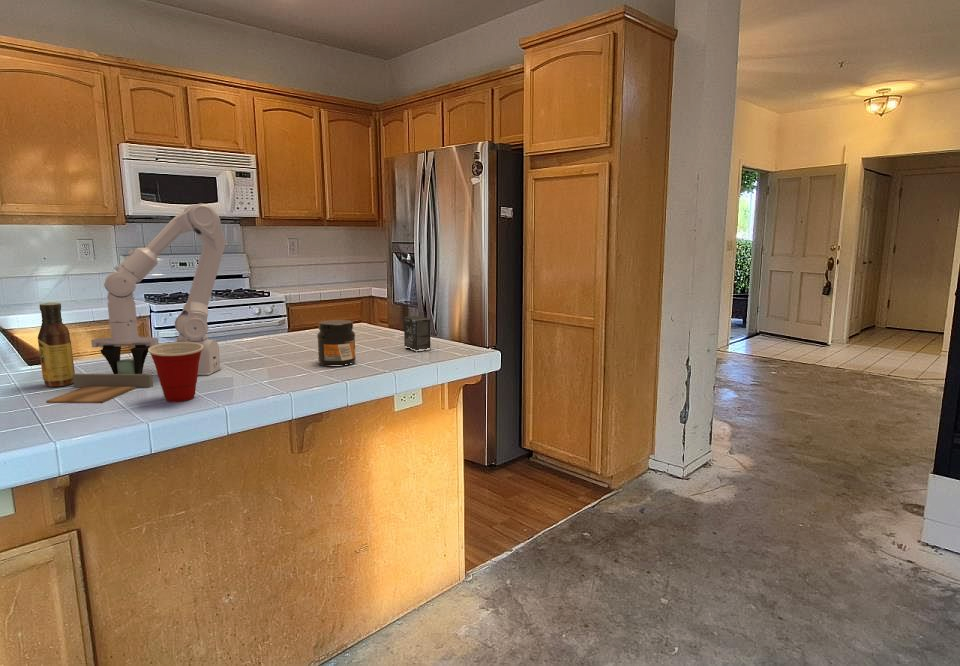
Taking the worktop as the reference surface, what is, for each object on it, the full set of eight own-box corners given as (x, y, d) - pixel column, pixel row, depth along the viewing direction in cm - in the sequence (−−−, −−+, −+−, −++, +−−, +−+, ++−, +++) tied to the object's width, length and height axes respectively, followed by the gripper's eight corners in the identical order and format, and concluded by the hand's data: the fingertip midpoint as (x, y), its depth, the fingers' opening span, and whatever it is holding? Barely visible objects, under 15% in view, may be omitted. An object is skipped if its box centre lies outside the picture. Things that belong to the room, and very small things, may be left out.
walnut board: (135, 388, 133) (135, 386, 133) (102, 402, 121) (102, 401, 121) (84, 388, 133) (84, 386, 133) (46, 402, 121) (46, 400, 121)
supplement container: (351, 367, 156) (349, 325, 155) (313, 367, 157) (311, 324, 155) (359, 359, 167) (358, 319, 165) (324, 359, 167) (323, 319, 165)
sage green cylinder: (142, 378, 143) (141, 359, 142) (132, 382, 138) (130, 362, 138) (125, 378, 143) (123, 359, 142) (114, 382, 138) (112, 362, 137)
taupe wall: (153, 386, 135) (152, 374, 135) (150, 387, 134) (149, 375, 134) (77, 385, 135) (76, 373, 135) (74, 387, 134) (72, 374, 133)
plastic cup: (157, 409, 117) (152, 352, 115) (148, 397, 126) (143, 345, 124) (213, 400, 124) (209, 346, 122) (200, 389, 132) (196, 339, 131)
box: (403, 348, 184) (403, 316, 183) (419, 346, 188) (418, 315, 186) (415, 352, 178) (415, 319, 176) (431, 350, 181) (430, 318, 179)
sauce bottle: (48, 382, 138) (39, 302, 134) (79, 380, 140) (70, 301, 137) (39, 389, 132) (29, 305, 128) (71, 387, 134) (61, 304, 131)
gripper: (161, 318, 143) (166, 370, 145) (100, 319, 141) (105, 371, 143) (149, 322, 136) (154, 377, 138) (84, 323, 134) (90, 378, 136)
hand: (128, 374), depth 140 cm, fingers closed on sage green cylinder, 4 cm apart
